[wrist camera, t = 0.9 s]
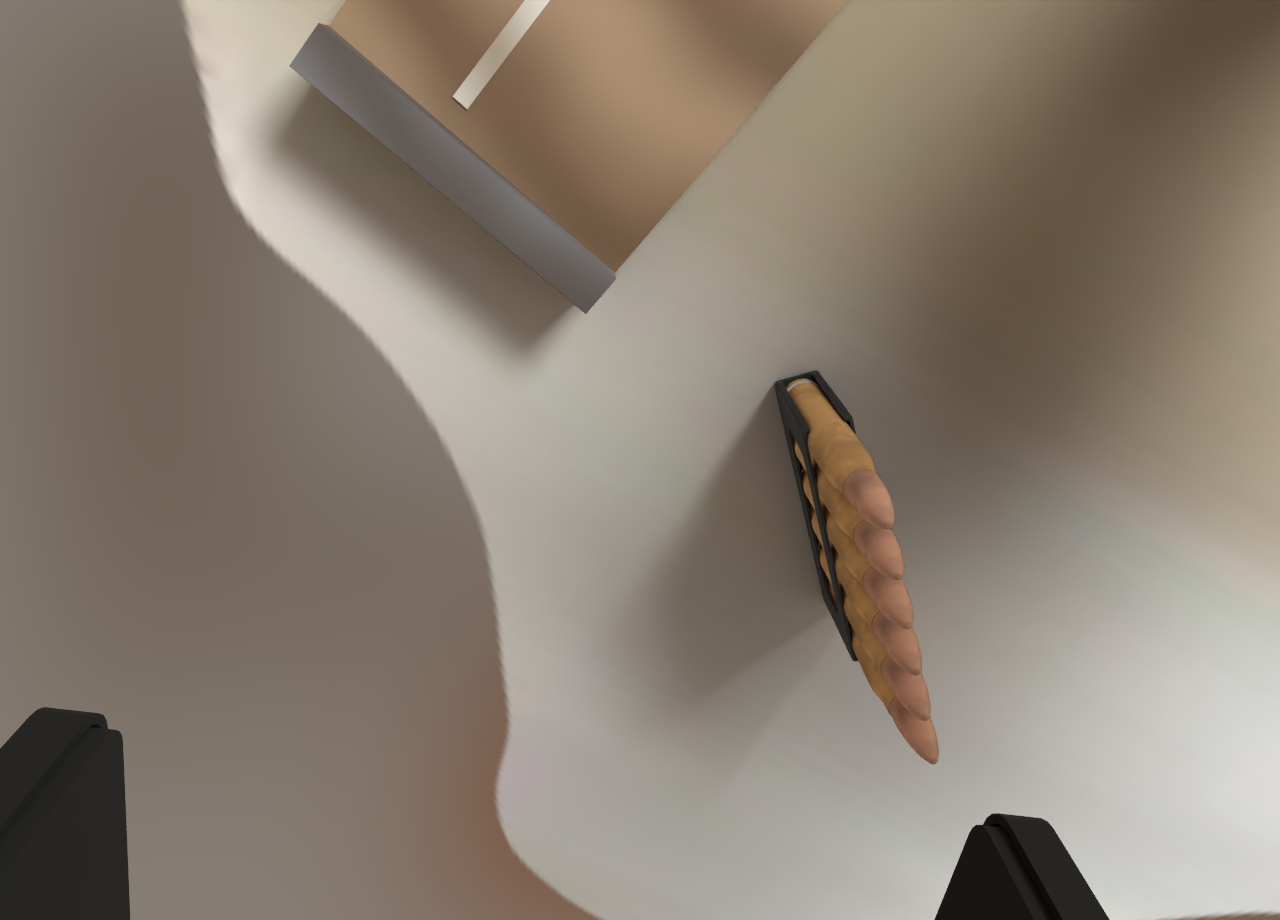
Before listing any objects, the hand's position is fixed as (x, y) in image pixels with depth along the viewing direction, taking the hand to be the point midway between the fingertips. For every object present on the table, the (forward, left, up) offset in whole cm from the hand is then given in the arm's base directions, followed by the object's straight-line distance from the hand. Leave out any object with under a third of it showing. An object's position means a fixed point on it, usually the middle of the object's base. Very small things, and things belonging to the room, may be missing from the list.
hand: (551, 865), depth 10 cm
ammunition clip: (-1, +13, -28) cm, 30 cm away
